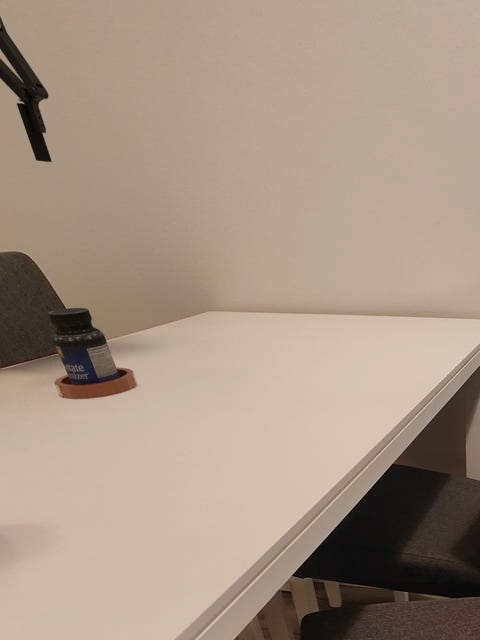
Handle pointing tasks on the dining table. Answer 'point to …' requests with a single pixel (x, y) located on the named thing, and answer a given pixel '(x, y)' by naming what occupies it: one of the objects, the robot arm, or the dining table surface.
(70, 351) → the pill bottle
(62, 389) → the holder
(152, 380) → the dining table surface
